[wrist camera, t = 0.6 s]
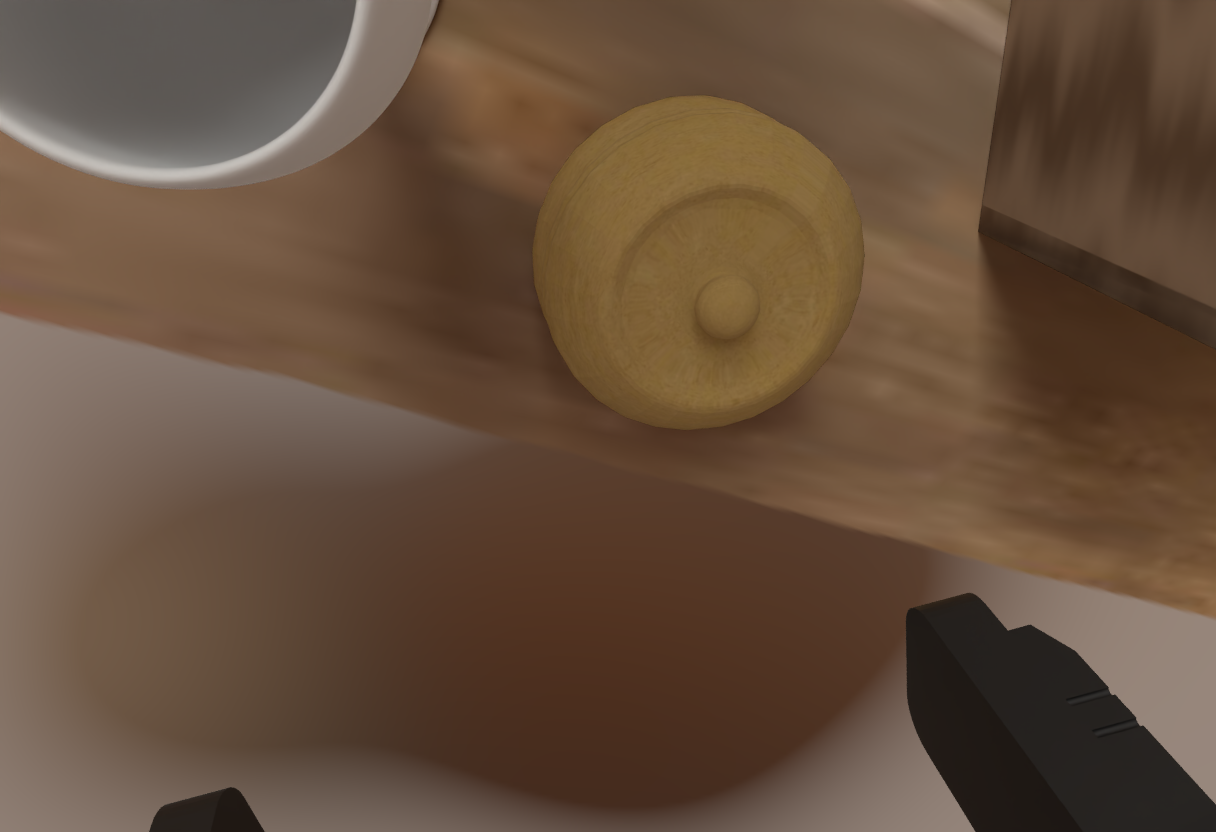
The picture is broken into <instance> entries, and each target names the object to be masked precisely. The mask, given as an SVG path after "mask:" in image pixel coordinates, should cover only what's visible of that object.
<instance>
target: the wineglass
mask: <svg viewBox="0 0 1216 832" xmlns="http://www.w3.org/2000/svg"><path fill="white" fill-rule="evenodd" d="M438 2H439V0H0V130H1V131H2V132H3V133H5V134H7V135H8V136H10V137H11V138H13V139H14V140H16V141H18V142H19V143H21V144H23V145H24V146H26V147H28V148H30V149H32V150H34V151H35V152H37V153H39V154H41V155H43V156H45V157H47V158H49V159H52V160H54V161H56V162H58V163H61V164H63V165H65V166H68V167H70V168H73V169H75V170H78V171H81V172H84V173H87V174H90V175H93V176H96V177H99V178H103V179H107V180H111V181H115V182H120V183H124V184H130V185H136V186H143V187H151V188H162V189H215V188H227V187H236V186H242V185H249V184H254V183H259V182H264V181H268V180H271V179H275V178H279V177H282V176H285V175H288V174H291V173H294V172H297V171H299V170H302V169H304V168H307V167H309V166H311V165H313V164H315V163H317V162H319V161H321V160H324V159H325V158H327V157H329V156H331V155H332V154H334V153H336V152H337V151H339V150H340V149H342V148H343V147H345V146H346V145H348V144H349V143H350V142H352V141H353V140H354V139H356V138H357V137H358V136H359V135H361V134H362V133H363V132H364V131H365V130H366V129H367V128H369V127H370V126H371V125H372V124H373V123H374V122H375V121H376V120H377V119H378V117H379V116H380V115H381V114H382V113H383V112H384V111H385V109H386V108H387V107H388V106H389V104H390V103H391V102H392V100H393V99H394V97H395V96H396V95H397V93H398V92H399V90H400V89H401V87H402V86H403V84H404V82H405V80H406V79H407V77H408V75H409V73H410V71H411V69H412V67H413V65H414V63H415V60H416V58H417V56H418V53H419V51H420V48H421V45H422V42H423V39H424V35H425V34H426V32H427V30H428V28H429V26H430V24H431V22H432V20H433V17H434V15H435V12H436V9H437V6H438Z"/></svg>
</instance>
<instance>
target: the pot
mask: <svg viewBox="0 0 1216 832" xmlns="http://www.w3.org/2000/svg"><path fill="white" fill-rule="evenodd" d="M532 255H533V274H534V285H535V289H536V292H537V295H538V298H539V302H540V305H541V308H542V311H543V315H544V317H545V319H546V321H547V323H548V326H549V329H550V333H551V336H552V339H553V342H554V343H555V345H556V347H557V349H558V351H559V352H560V354H561V356H562V357H563V359H564V361H565V362H566V364H567V366H568V367H569V369H570V371H571V372H572V374H573V376H574V377H575V378H576V379H577V380H578V381H579V382H580V383H581V384H582V385H583V386H584V387H585V388H586V389H587V390H588V391H589V392H590V393H591V394H592V395H593V396H594V397H595V398H596V399H597V400H598V401H600V402H601V403H603V404H605V405H606V406H608V407H609V408H611V409H613V410H614V411H616V412H617V413H619V414H621V415H622V416H624V417H627V418H630V419H633V420H636V421H639V422H642V423H645V424H648V425H651V426H654V427H662V428H672V429H682V430H692V429H703V428H713V427H722V426H725V425H729V424H732V423H735V422H739V421H742V420H745V419H749V418H752V417H754V416H756V415H758V414H760V413H762V412H764V411H766V410H767V409H769V408H771V407H773V406H775V405H777V404H779V403H781V402H782V401H784V400H785V399H786V398H788V397H789V396H790V395H791V394H793V393H794V392H795V391H796V390H798V389H799V388H800V387H801V386H803V385H804V384H805V383H806V382H808V381H809V380H810V379H811V378H812V376H813V375H814V374H815V373H816V372H817V371H818V370H819V368H820V367H821V366H822V365H823V364H824V363H825V362H826V360H827V359H828V358H829V357H830V356H831V355H832V353H833V351H834V349H835V348H836V346H837V344H838V343H839V341H840V339H841V338H842V336H843V334H844V332H845V331H846V329H847V327H848V326H849V323H850V320H851V317H852V314H853V311H854V308H855V305H856V302H857V300H858V297H859V294H860V291H861V282H862V274H863V266H864V257H865V254H864V245H863V235H862V225H861V219H860V216H859V214H858V211H857V208H856V205H855V202H854V199H853V196H852V193H851V190H850V188H849V187H848V185H847V184H846V182H845V181H844V179H843V178H842V176H841V175H840V173H839V172H838V170H837V169H836V167H835V166H834V164H833V163H832V161H831V160H830V159H829V158H828V157H827V156H825V155H824V154H823V153H822V152H821V151H820V150H818V149H817V148H816V147H815V146H814V145H813V144H812V143H810V142H809V141H808V140H807V139H806V138H805V137H803V136H802V135H800V134H799V133H798V132H797V131H795V130H793V129H791V128H789V127H787V126H785V125H783V124H781V123H779V122H777V121H775V120H774V119H773V118H771V117H769V116H767V115H765V114H763V113H761V112H759V111H757V110H755V109H753V108H751V107H749V106H747V105H745V104H743V103H740V102H736V101H731V100H726V99H722V98H717V97H712V96H708V95H700V96H679V97H668V98H665V99H661V100H658V101H655V102H651V103H648V104H644V105H641V106H638V107H634V108H633V109H631V110H629V111H627V112H625V113H624V114H622V115H620V116H618V117H616V118H615V119H613V120H611V121H609V122H607V123H606V124H604V125H602V126H601V127H600V128H598V129H597V130H596V131H595V132H594V133H593V134H592V135H591V136H590V137H588V138H587V139H586V140H585V141H584V142H583V143H582V144H581V145H579V146H578V147H577V148H576V149H575V150H574V151H573V152H572V154H571V155H570V157H569V158H568V159H567V161H566V162H565V164H564V165H563V167H562V168H561V169H560V171H559V172H558V174H557V175H556V177H555V178H554V179H553V181H552V183H551V185H550V188H549V190H548V193H547V195H546V198H545V200H544V202H543V205H542V207H541V210H540V212H539V215H538V220H537V225H536V231H535V237H534V242H533V248H532Z"/></svg>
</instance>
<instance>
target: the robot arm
mask: <svg viewBox="0 0 1216 832" xmlns="http://www.w3.org/2000/svg"><path fill="white" fill-rule="evenodd" d="M906 656H907V699H908V705H909V710H910V714H911V717H912V721H913V723H914V726H915V729H916V732H917V734H918V736H919V738H920V740H921V742H922V744H923V746H924V748H925V750H926V752H927V753H928V755H929V756H930V758H931V760H932V761H933V763H934V765H935V766H936V768H937V770H938V771H939V773H940V775H941V776H942V778H943V779H944V781H945V783H946V784H947V786H948V788H949V789H950V791H951V793H952V794H953V796H954V797H955V799H956V801H957V802H958V804H959V805H960V807H961V809H962V810H963V812H964V814H965V815H966V817H967V819H968V820H969V822H970V823H971V825H972V827H973V828H974V830H975V832H1216V804H1215V803H1214V802H1213V801H1212V800H1211V799H1210V798H1209V797H1208V796H1207V795H1206V794H1205V792H1204V791H1203V790H1202V789H1201V788H1200V787H1199V786H1198V785H1197V784H1196V783H1195V781H1194V780H1193V779H1192V778H1191V777H1190V776H1189V775H1188V774H1187V773H1186V772H1185V771H1184V770H1183V768H1182V767H1180V765H1179V764H1178V763H1177V762H1176V761H1175V760H1174V759H1173V757H1172V756H1171V755H1170V754H1169V753H1168V752H1167V751H1166V750H1165V749H1164V748H1163V746H1162V745H1161V744H1160V743H1159V742H1158V741H1157V740H1156V739H1155V738H1154V737H1153V736H1152V734H1151V733H1150V732H1149V731H1148V730H1147V729H1146V728H1145V727H1144V726H1139V724H1138V723H1137V721H1136V717H1135V716H1134V715H1133V714H1132V713H1131V711H1130V710H1129V709H1128V708H1127V707H1126V706H1125V705H1124V704H1123V703H1122V702H1121V700H1120V699H1118V697H1117V696H1116V695H1111V694H1110V692H1109V689H1108V686H1107V685H1106V684H1105V683H1104V682H1103V681H1102V680H1101V679H1100V678H1099V676H1098V675H1097V674H1096V673H1095V672H1094V671H1093V670H1092V669H1091V668H1090V667H1089V665H1088V664H1087V663H1086V662H1085V661H1084V660H1083V659H1082V658H1081V657H1080V656H1079V655H1078V653H1077V652H1076V651H1074V650H1072V649H1071V648H1069V647H1067V646H1066V645H1064V644H1062V643H1061V642H1059V641H1057V640H1056V639H1054V638H1052V637H1050V636H1049V635H1047V634H1045V633H1044V632H1042V631H1040V630H1038V629H1037V628H1035V627H1033V626H1032V625H1027V626H1023V627H1020V628H1016V629H1012V630H1009V631H1008V630H1007V629H1006V628H1005V627H1004V626H1003V624H1002V623H1001V622H1000V621H999V620H998V618H997V617H996V616H995V615H994V614H993V613H992V611H991V610H990V609H989V608H988V607H987V605H986V604H985V603H984V602H983V601H982V600H981V599H980V598H979V597H977V596H976V595H974V594H972V593H966V594H963V595H959V596H955V597H951V598H948V599H944V600H940V601H936V602H932V603H929V604H925V605H921V606H917V607H914V608H910V609H909V610H908V612H907V616H906ZM149 832H264V830H263V828H262V827H261V825H260V823H259V822H258V820H257V818H256V817H255V815H254V813H253V811H252V810H251V808H250V806H249V805H248V803H247V802H246V800H245V798H244V796H243V795H242V794H241V792H240V791H239V790H237V789H236V788H232V787H230V788H226V789H223V790H219V791H215V792H211V793H208V794H204V795H200V796H197V797H193V798H189V799H185V800H182V801H178V802H174V803H170V804H167V805H164V806H163V807H161V809H159V811H158V812H157V814H156V815H155V817H154V819H153V822H152V825H151V828H150V831H149Z"/></svg>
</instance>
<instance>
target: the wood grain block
mask: <svg viewBox="0 0 1216 832" xmlns="http://www.w3.org/2000/svg"><path fill="white" fill-rule="evenodd" d="M979 232H981V233H983V234H985V235H987V236H989V237H991V238H993V239H995V240H997V241H999V242H1001V243H1003V244H1005V245H1007V246H1009V247H1011V248H1013V249H1015V250H1017V251H1019V252H1021V253H1023V254H1025V255H1027V256H1029V257H1031V258H1033V259H1035V260H1037V261H1039V262H1041V263H1043V264H1045V265H1047V266H1049V267H1051V268H1053V269H1055V270H1057V271H1059V272H1061V273H1063V274H1065V275H1067V276H1069V277H1071V278H1073V279H1075V280H1077V281H1079V282H1081V283H1083V284H1085V285H1087V286H1089V287H1091V288H1093V289H1095V290H1097V291H1099V292H1101V293H1103V294H1105V295H1107V296H1109V297H1111V298H1113V299H1115V300H1117V301H1119V302H1121V303H1123V304H1125V305H1127V306H1129V307H1131V308H1133V309H1135V310H1137V311H1139V312H1141V313H1143V314H1145V315H1147V316H1149V317H1151V318H1153V319H1155V320H1157V321H1159V322H1162V323H1164V324H1166V325H1168V326H1170V327H1172V328H1174V329H1176V330H1178V331H1180V332H1182V333H1184V334H1186V335H1188V336H1190V337H1192V338H1194V339H1196V340H1198V341H1200V342H1202V343H1204V344H1206V345H1208V346H1210V347H1212V348H1214V349H1216V0H1012V2H1011V9H1010V16H1009V23H1008V30H1007V37H1006V44H1005V51H1004V58H1003V65H1002V72H1001V79H1000V86H999V93H998V99H997V106H996V113H995V120H994V127H993V134H992V141H991V148H990V155H989V162H988V169H987V176H986V183H985V190H984V197H983V203H982V210H981V217H980V224H979Z"/></svg>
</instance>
